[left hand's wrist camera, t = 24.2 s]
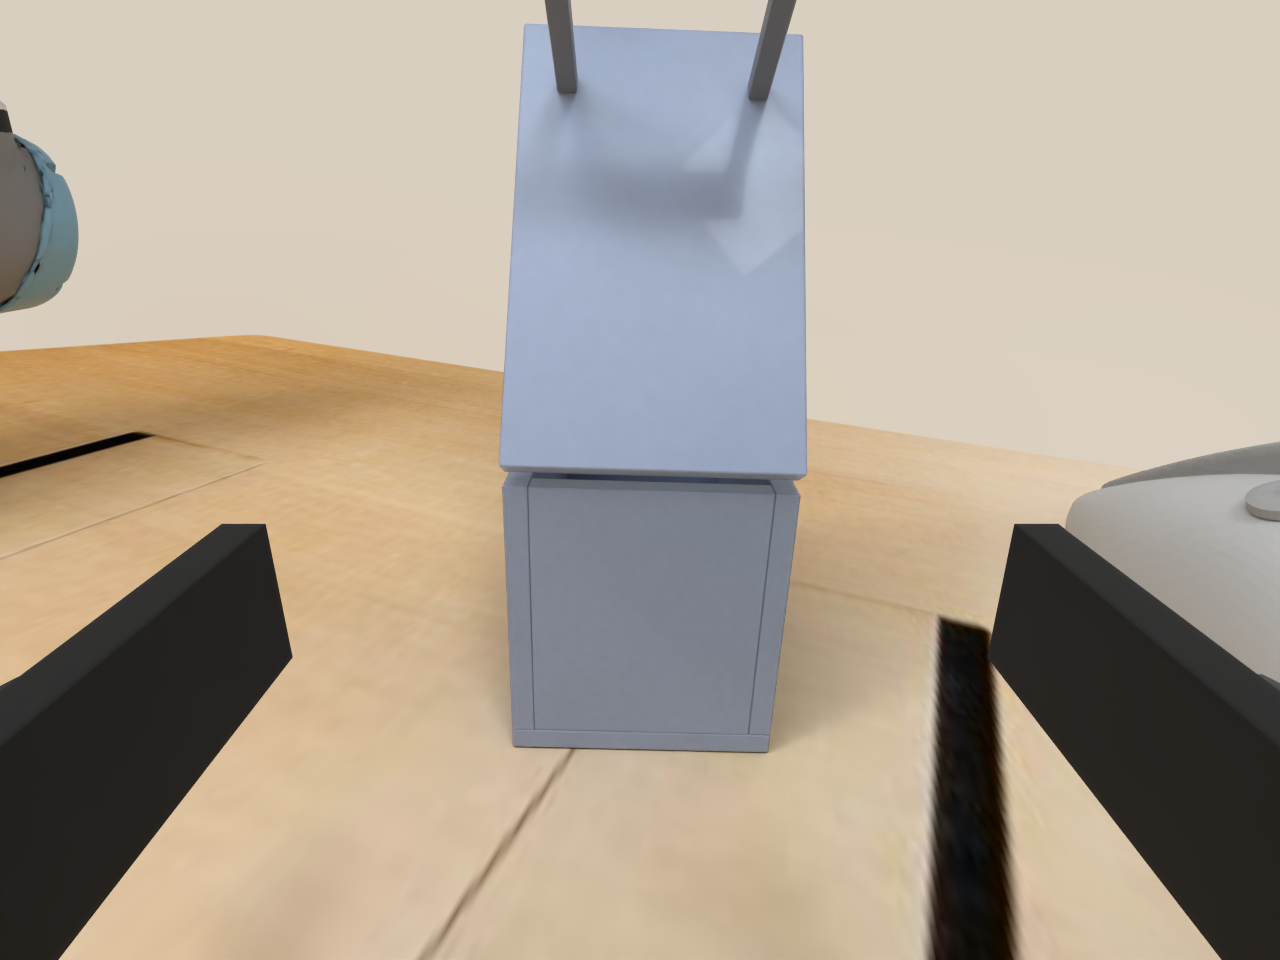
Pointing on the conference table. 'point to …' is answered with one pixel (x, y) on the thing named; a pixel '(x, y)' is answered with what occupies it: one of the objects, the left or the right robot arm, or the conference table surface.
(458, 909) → the conference table surface
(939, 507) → the conference table surface
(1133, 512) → the projector
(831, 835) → the conference table surface
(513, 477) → the chest
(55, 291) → the right robot arm
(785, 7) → the lid
